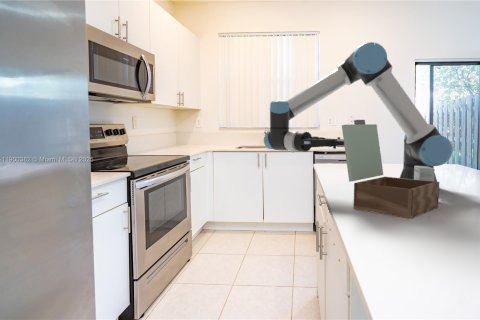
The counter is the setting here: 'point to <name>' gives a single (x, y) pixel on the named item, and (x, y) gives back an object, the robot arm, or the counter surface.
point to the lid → (362, 150)
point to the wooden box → (396, 196)
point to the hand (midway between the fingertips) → (354, 143)
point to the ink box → (424, 173)
